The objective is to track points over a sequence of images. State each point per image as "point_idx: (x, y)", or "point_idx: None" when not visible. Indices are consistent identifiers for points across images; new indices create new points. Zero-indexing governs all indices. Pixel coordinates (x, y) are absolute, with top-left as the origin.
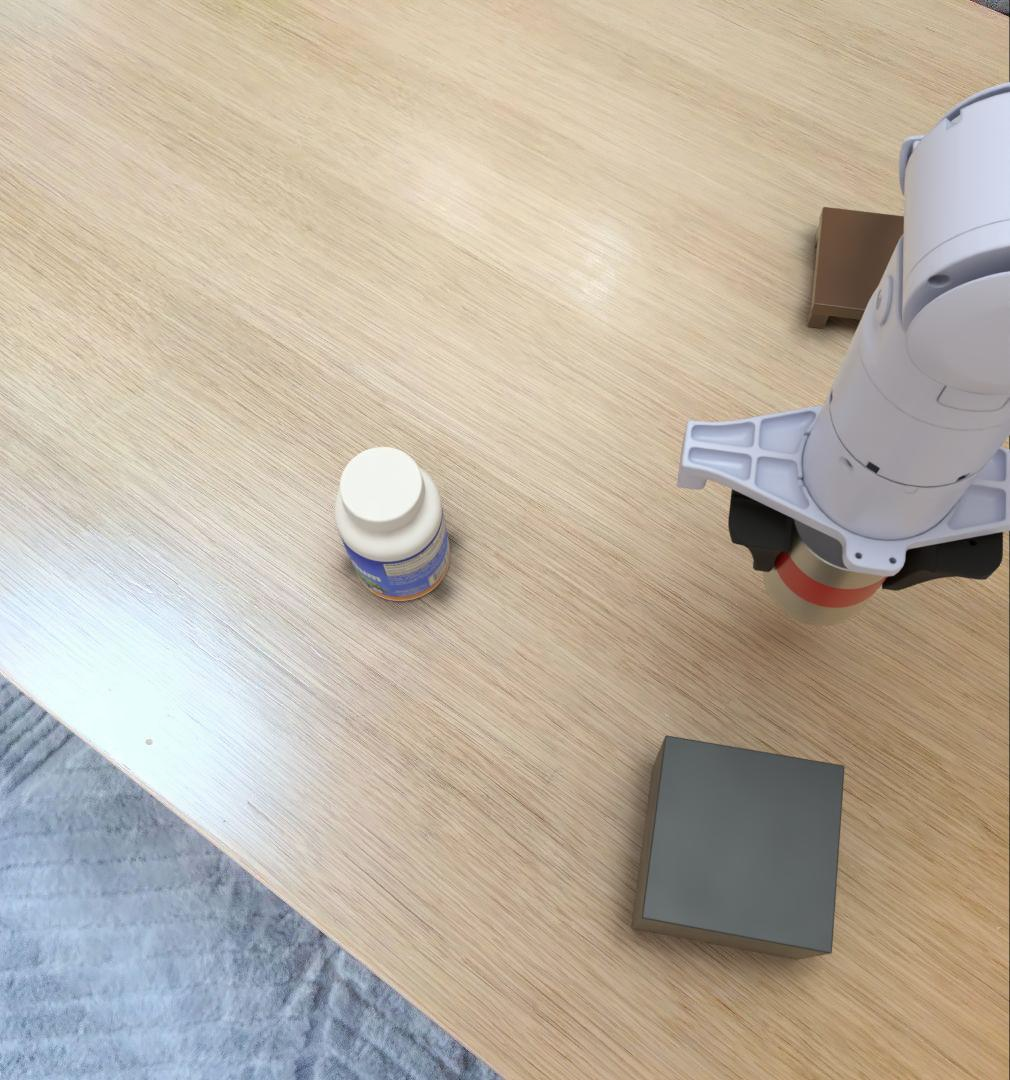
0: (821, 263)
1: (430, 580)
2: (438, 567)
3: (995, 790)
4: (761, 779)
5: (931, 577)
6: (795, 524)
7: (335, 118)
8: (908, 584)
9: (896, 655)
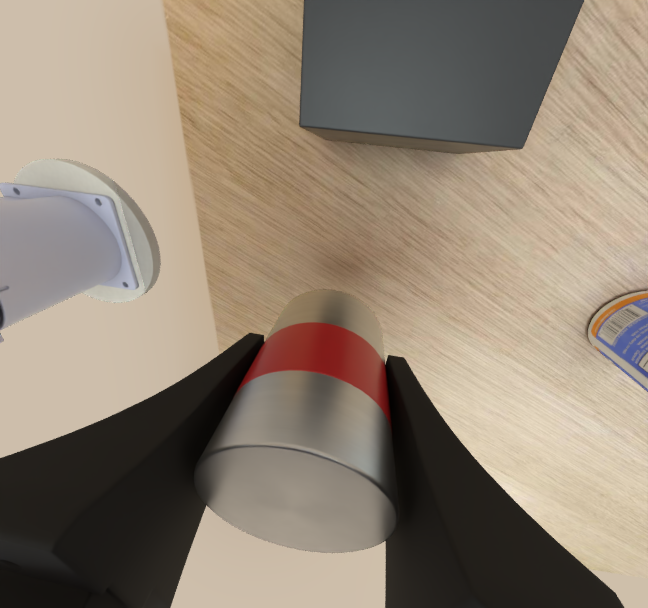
0: None
1: (640, 310)
2: (636, 322)
3: (191, 156)
4: (404, 91)
5: (177, 389)
6: (395, 513)
7: (561, 530)
8: (224, 357)
9: (267, 255)
